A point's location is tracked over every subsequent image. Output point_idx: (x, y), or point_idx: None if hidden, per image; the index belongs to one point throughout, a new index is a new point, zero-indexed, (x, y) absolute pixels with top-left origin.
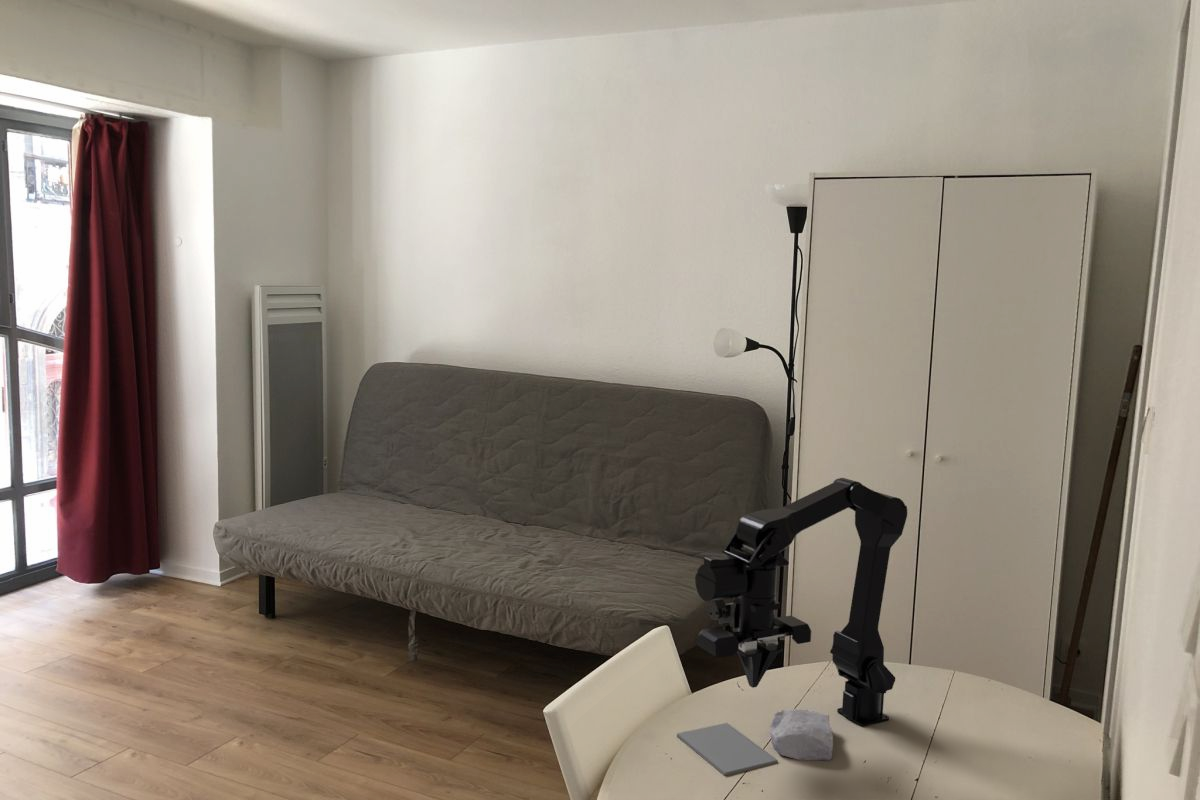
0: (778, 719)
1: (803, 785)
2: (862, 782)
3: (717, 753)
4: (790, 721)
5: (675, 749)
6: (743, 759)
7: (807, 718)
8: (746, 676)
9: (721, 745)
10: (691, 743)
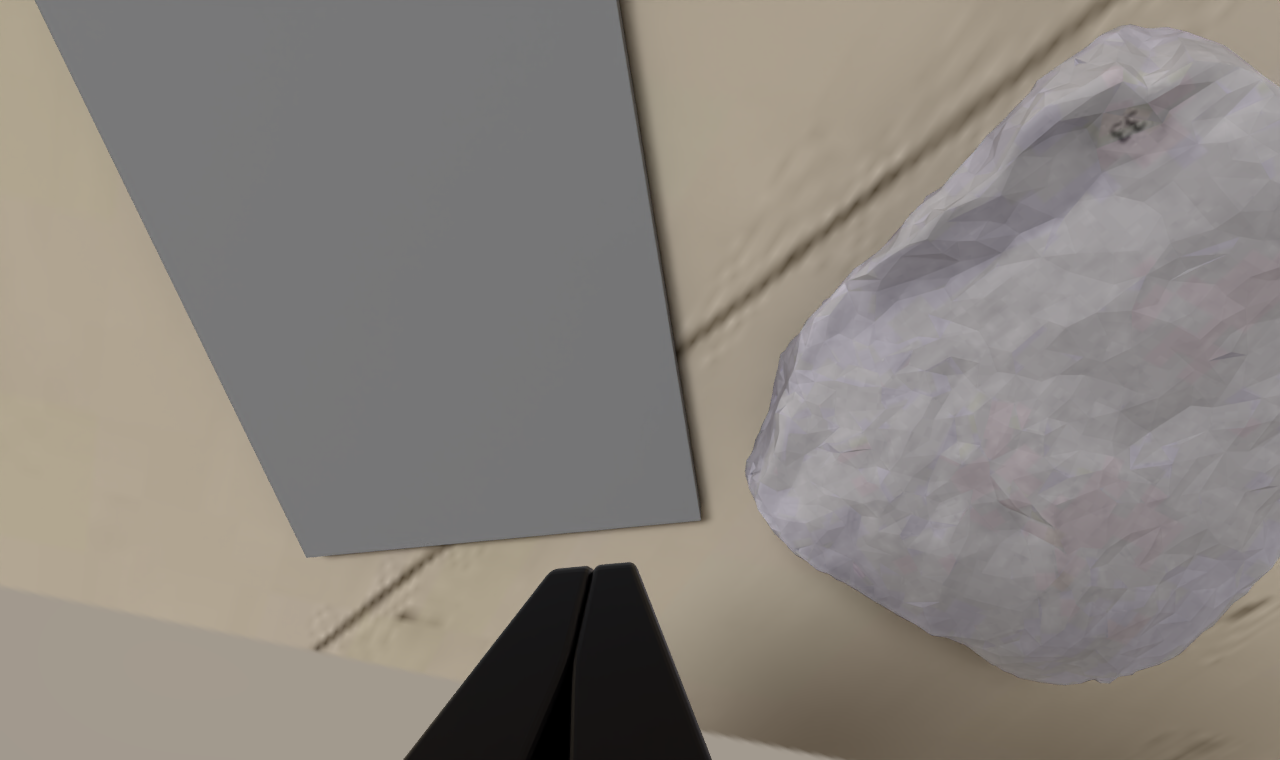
0: (1004, 217)
1: (711, 699)
2: (1027, 745)
3: (318, 354)
4: (1051, 348)
5: (14, 166)
6: (477, 463)
7: (1247, 365)
8: (469, 681)
9: (381, 255)
10: (133, 166)
